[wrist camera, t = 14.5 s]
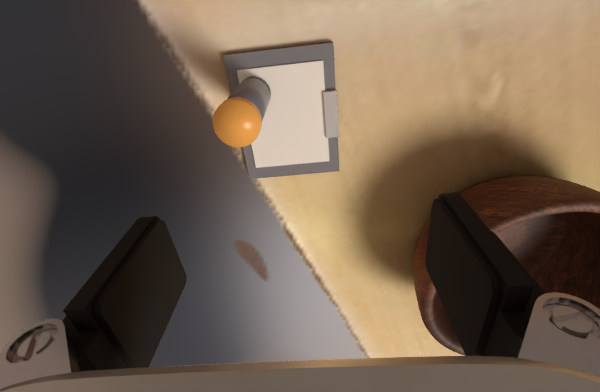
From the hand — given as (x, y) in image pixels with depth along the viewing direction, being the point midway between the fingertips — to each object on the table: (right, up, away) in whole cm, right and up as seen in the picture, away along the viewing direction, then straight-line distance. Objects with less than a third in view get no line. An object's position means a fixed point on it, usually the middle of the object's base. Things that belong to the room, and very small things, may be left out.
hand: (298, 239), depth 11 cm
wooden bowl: (+27, -4, +33) cm, 42 cm away
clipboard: (-1, +10, +24) cm, 26 cm away
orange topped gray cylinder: (-5, +12, +22) cm, 25 cm away
